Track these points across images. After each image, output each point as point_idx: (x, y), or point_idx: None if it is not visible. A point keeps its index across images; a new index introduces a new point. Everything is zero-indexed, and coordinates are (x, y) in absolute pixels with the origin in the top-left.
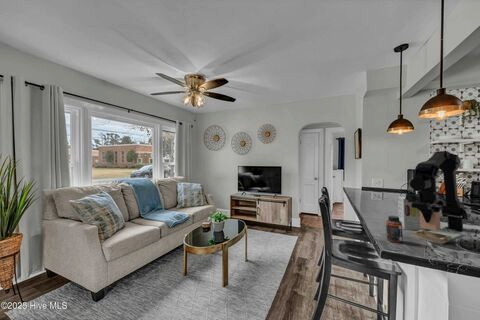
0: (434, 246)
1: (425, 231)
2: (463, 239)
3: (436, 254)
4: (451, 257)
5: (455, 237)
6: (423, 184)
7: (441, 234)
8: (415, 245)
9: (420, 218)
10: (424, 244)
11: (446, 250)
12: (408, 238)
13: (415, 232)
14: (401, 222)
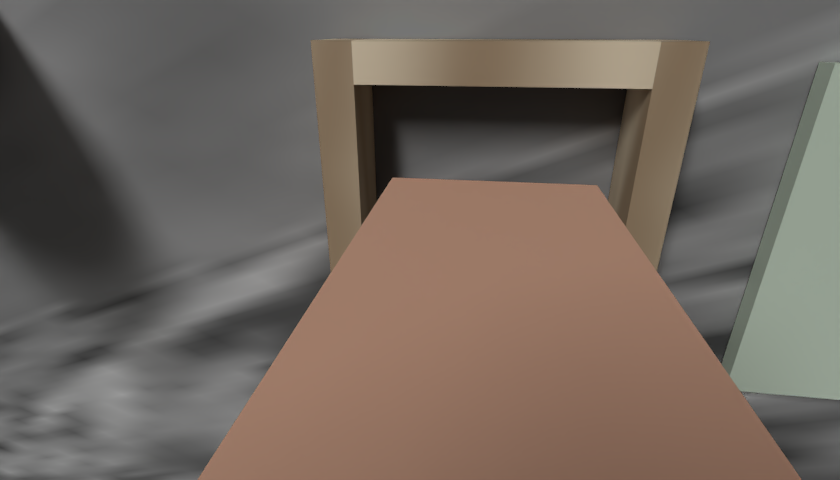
0: (208, 341)
1: (641, 137)
2: (809, 439)
3: (29, 402)
4: (84, 466)
5: (808, 391)
6: None
7: None
8: (41, 233)
9: (322, 304)
10: (169, 270)
11: (203, 420)
12: (198, 59)
13: (379, 76)
14: None
